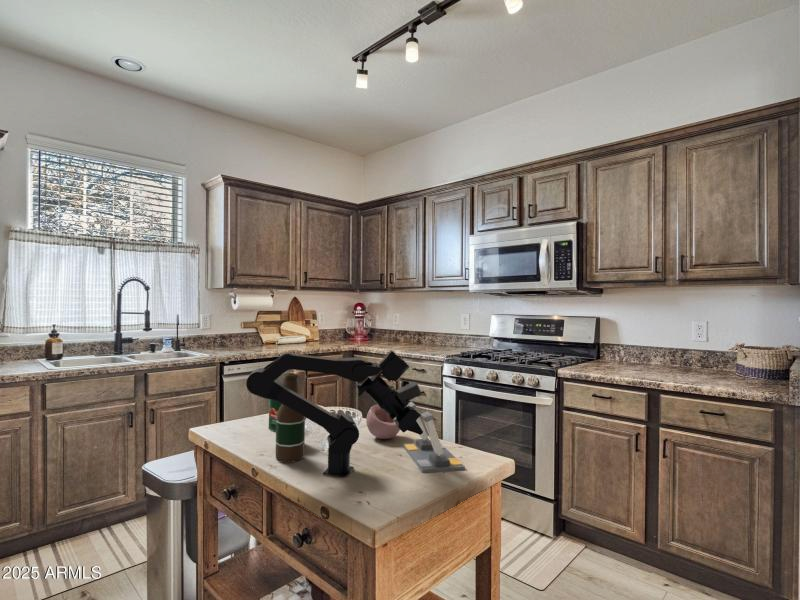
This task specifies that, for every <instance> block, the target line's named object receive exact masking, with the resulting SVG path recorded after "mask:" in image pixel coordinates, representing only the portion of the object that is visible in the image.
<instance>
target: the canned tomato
mask: <svg viewBox="0 0 800 600" xmlns="http://www.w3.org/2000/svg"><path fill="white" fill-rule="evenodd" d="M268 400H269V402H268V406H269V407H268V430H269V431H271V432H276V417H277V412H278V410H279V408H280V406H281V405H282V404H281V403H279V402H278V401H275V400H270V399H268Z"/></svg>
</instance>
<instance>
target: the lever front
mask: <svg viewBox="0 0 800 600" xmlns="http://www.w3.org/2000/svg"><path fill="white" fill-rule="evenodd" d="M420 418H421V420H423V422H424V425H425V428H426V429H425V430H426V433H427V436H428V439H429V440H430V441H431V444H432V447H433V450H434V452H435V453H436V454H437V455H438V456H439V457H440V459H443V458H444V455H443V454H444V453H443V450H442V447H441V444H442V443H441V441H440V439H439V435H438V433H437V429H436V426H435V423H434V421H433V420H434V416H433V414H432V413H430V411H424V412H422V413H420ZM440 443H441V444H440Z"/></svg>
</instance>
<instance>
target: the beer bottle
mask: <svg viewBox="0 0 800 600" xmlns="http://www.w3.org/2000/svg"><path fill="white" fill-rule="evenodd" d="M298 378H299V376H298V374H297V373H293V372H291V373H289V372H288V373H286V374H285V375H284V380H285V383H284V384H285V385H284V386H285V387H287V388H289V389H290V390H292V391H294V392H295V393H297V394H299V393H298V391H299V390H298ZM304 450H305V444H304V416H302V415H300V414H299V413H297V412H295V411H293V410H292V409H290V408H288V407H286V406H285V405H283V404H282V405H281V406H280V408H279V410H278V412H277V418H276V431H275V459H276V461H278V462H279V461H280V463H286V462H287V463H289V464H290V463H295V461H296V462H299V461H301V460H302V459H303V457H304V452H305V451H304ZM287 463H286V464H287Z"/></svg>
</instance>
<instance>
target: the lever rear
mask: <svg viewBox="0 0 800 600" xmlns="http://www.w3.org/2000/svg"><path fill="white" fill-rule="evenodd" d="M408 403H409V404H408V405H407V406H411V407H413V408H414V409H415V410H416V411H417V405H416V404H415V403H414V402H413V401H410V402H409V401H408ZM407 406H406V407H407ZM416 421H417V423H418V424H419V426H420V428H421V429H422V431H423V433H422V434H421V435H419V437H420V439H423V440H424V441H425V442H426V443H428V442H429V440H430V439H429V435H428V433H427V430H426V429H425V427H424V424H423V423H422V419H421V417H419V418H418V419H417V420H416ZM428 439H429V440H428Z"/></svg>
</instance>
